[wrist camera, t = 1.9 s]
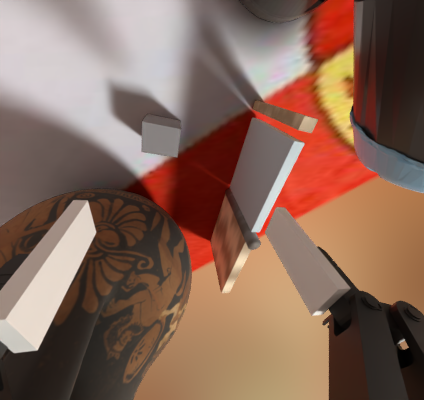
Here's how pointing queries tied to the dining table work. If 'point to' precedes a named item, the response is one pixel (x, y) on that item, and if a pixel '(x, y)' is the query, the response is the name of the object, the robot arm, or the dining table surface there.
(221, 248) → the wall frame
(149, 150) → the grey short block
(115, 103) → the dining table surface
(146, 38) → the dining table surface
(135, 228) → the vase
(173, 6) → the dining table surface
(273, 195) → the door
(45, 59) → the dining table surface
